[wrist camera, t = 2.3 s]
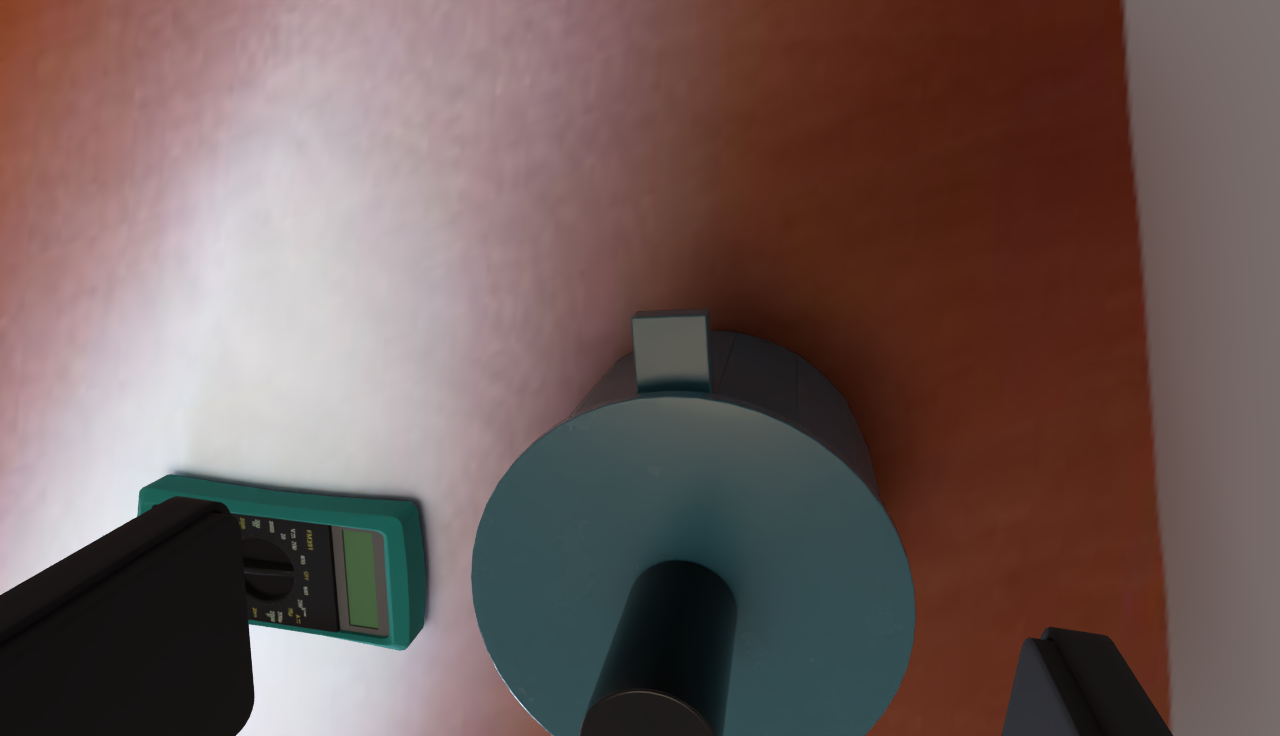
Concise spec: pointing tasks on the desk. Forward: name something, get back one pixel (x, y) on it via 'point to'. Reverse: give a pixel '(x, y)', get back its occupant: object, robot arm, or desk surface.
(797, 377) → the pot
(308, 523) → the digital multimeter
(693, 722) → the pot lid
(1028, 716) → the robot arm
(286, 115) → the desk surface
